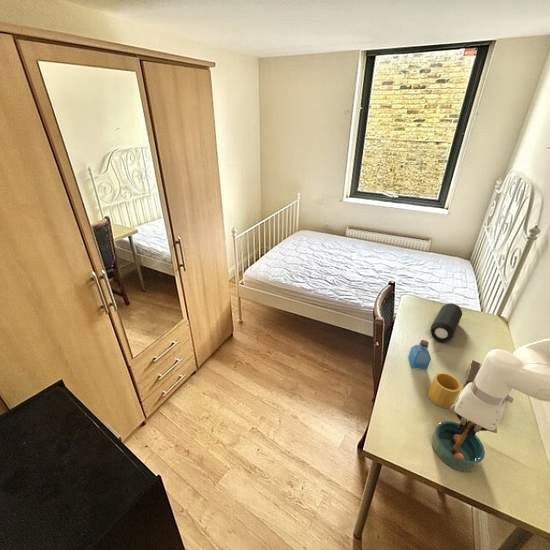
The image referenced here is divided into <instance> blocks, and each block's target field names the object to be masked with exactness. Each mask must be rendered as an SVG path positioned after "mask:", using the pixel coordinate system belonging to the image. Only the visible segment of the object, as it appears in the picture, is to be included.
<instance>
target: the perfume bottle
mask: <svg viewBox="0 0 550 550" xmlns="http://www.w3.org/2000/svg"><path fill="white" fill-rule="evenodd" d="M429 345H430V343H429V341H427V340H425V339H421V340H420V342H419V344H415V345H413V346H411V347H410V351H409V353H408V356H407V358H409V359H408V362H409V365H410V367H411V366H412V367H411V369H417V368H418V370H426V369H427V370H428V369H429V366H430V363H431V361H432V360H431V359H432V358H431V354H430V352H429V349H428V348H429Z"/></svg>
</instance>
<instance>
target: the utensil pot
mask: <svg viewBox="0 0 550 550" xmlns="http://www.w3.org/2000/svg"><path fill="white" fill-rule="evenodd" d="M462 388H463V386H462V383H461V382H460V380H459V379H458V378H457V377H456V376H454V375H452V374H450V373H447V372H443V371H442V372H441V371H440V372H437V373H435V374H434V377H433V378H432V381H431V384H430V387H429V389H428V391H427V397H428V398H429V400H430V402H432V403H433V404H434V405H436V406H438V407H440V408H443V409H450V407H451V405H453V404H454V403H456V401H457V399H458V397H459V395H460V393H461V391H462Z"/></svg>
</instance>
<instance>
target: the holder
mask: <svg viewBox="0 0 550 550" xmlns="http://www.w3.org/2000/svg"><path fill="white" fill-rule="evenodd" d="M481 365H482V363H480V362H479V361H476V360H474V359H472V360H471V362H470V364H469V366H468V368H467V370H466V375H465V377H464V380H463V381H464V382H463V386H462V388H461V391H462V390H463V389H464V388H465V386H466V385H467V384H468V383H470V382H472V383H473V381H474V379H475V377H476V375H477V373H478V371H479V369H480V367H481Z"/></svg>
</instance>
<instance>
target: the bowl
mask: <svg viewBox="0 0 550 550" xmlns="http://www.w3.org/2000/svg"><path fill="white" fill-rule="evenodd" d="M459 424H460V422H456V421H452V420H444V421H441V422H439V423H438V424H437V425H436V427H435V429H434V431H433V433H432V436H431V444H432V447H433V450H434V452H435V453H436V455H437V456H438V457H439V459H441V461H443V462H444V463H445V464H446V465H448V466H449V467H451V468H452V469H455V470H456V471H457V470H458V471H459V472H467V473H470V472H473V471H476V470H477V469H478V468H479V467H480V465H481V464H482V462H483V460H484V459H485V455H486V454H485V453H486V451H485V447H484V444H483V443H482V441H481V439H480V438H479V437H478V435H476V434H475V436H474V437H473V436H471V438H470V439H468V438H467V436H466V438H465V440H464V441H463V443H462V445H461V446H460V448H459V450H458V452H457V453H461V454H462V455H463V456H464V459H465V460H463V459H460V458H458V457H456V456H454V454H452V453H451V450H452V448H453V447H454V445H455V442H454V441H453V436H454V435H455V434H459V431H460V429H458V426H459ZM459 435H460V434H459Z"/></svg>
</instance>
